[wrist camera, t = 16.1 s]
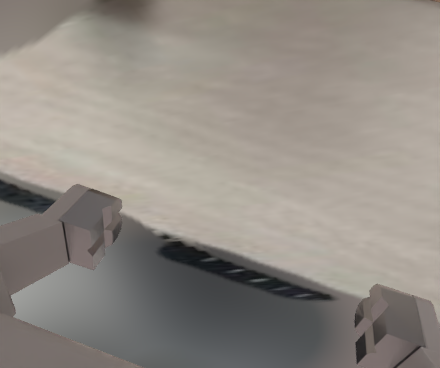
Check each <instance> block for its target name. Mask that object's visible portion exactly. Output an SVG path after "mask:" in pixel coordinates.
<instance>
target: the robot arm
mask: <svg viewBox="0 0 440 368" xmlns="http://www.w3.org/2000/svg"><path fill="white" fill-rule="evenodd" d="M121 209H122V200H121V199H119V198H117V197H114V196H111V195H108V194H105V193H103V192H100V191H97V190H94V189H91V188H88V187H85V186H82V185H80V184H76V185H73V186H72V187H71V188H70V189H69V190H68V191H67V192H66V193H64V194H63V195H62V196H61V197H60V198H59V199H58V200H57V201H56V202H55V203H54V204H53V205H52V206H51V207H50V208H49V209H47V210H46V211H45V212H44V213H43V214H42V215H40V214H35V215H32V216H29V217H26V218H23V219H19V220H17V221H13V222H11V223H7V224H4V225H1V226H0V368H143V367H141V366H138V365H136V364H133V363H130V362H128V361H125V360H123V359H120V358H117V357H115V356H112V355H109V354H107V353H104V352H102V351H99V350H97V349H94V348H92V347H89V346H86V345H84V344H81V343H79V342H76V341H73V340H71V339H68V338H66V337H63V336H60V335H58V334H55V333H52V332H50V331H48V330H45V329H42V328H40V327H37V326H35V325H32V324H29V323H27V322H24V321H21V320H19V319H16V318H14V317H13V316H14V315H15V313H16V312H15V307H14V304H13V302H12V299H11V295H12V294H14V293H16V292H18V291H20V290H22V289H23V288H25V287H27V286H29V285H31V284H33V283H34V282H36V281H38V280H40V279H42V278H43V277H45V276H47V275H49V274H51V273H53V272H54V271H56V270H58V269H60V268H62V267H64V266H65V265H67V264H68V263H69V262H70V263H73V264H77V265H79V266H82V267H86V268H88V269H92V270H94V269H95V268H96V267H97V265H98V264H99V263H100V261H101V260H102V258H103V257H104V256H105V248H106V247H108V246H110V245H112V244H113V243H114V242H115V240H116V239H117V237H118V234H119V232H120V230H121V226H122V217H121V215H120V214H119V211H120V210H121ZM369 292H370V297H367V298H364V299H362V301H361V302H360V303H359V305H358V307H357V310H356V313H355V320H354V323H355V330H356V332H357V333H358V335H359V336H360V338H359V339H358V340H357V341H356V343H355V345H356V362H357V365H359V366H361V367H364V368H440V328H439V324H438V320H437V317H436V313H435V309H434V306H433V304H432V303H431V301H429V300H426V299H423V298H420V297H417V296H414V295H410V294H408V293H405V292H402V291H398V290H395V289H392V288H389V287H386V286H383V285H380V284H376V285H374V286H373V287H372V288H371V289H370V290H369Z"/></svg>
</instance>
